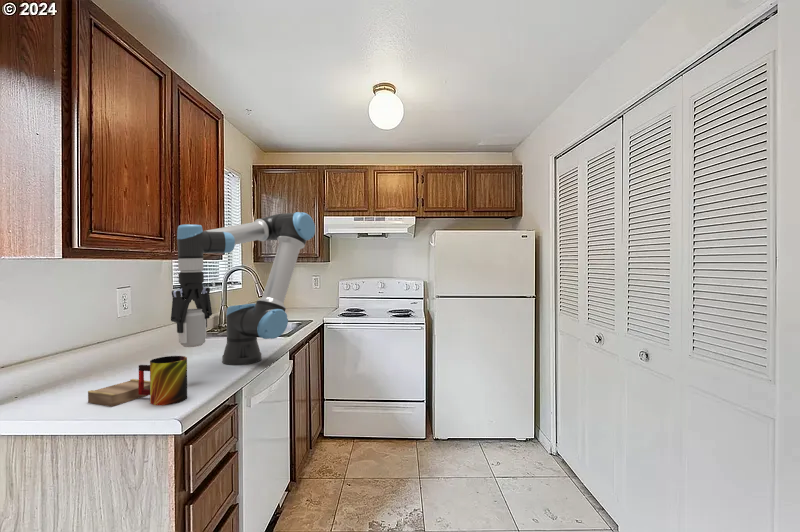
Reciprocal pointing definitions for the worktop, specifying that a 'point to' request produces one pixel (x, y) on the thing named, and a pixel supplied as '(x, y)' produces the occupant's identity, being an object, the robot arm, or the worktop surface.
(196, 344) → the can
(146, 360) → the worktop surface
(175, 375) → the mug
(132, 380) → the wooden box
